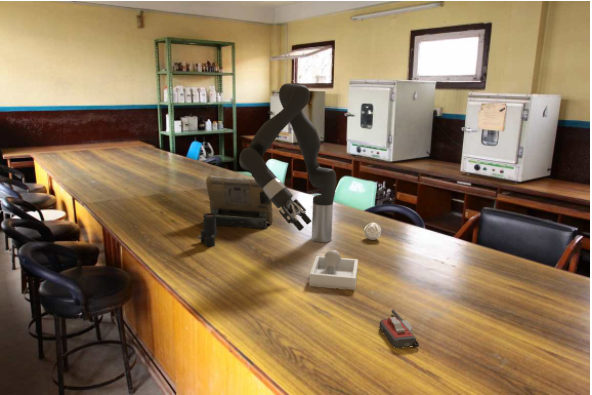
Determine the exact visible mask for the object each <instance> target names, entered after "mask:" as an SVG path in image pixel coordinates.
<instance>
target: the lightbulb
mask: <svg viewBox="0 0 592 395" xmlns="http://www.w3.org/2000/svg"><path fill="white" fill-rule="evenodd" d="M341 258H342V257H341V254H340V253H339V252H338V250H335V249H330V250H327V251H326V252H325V254H324V259H325V262H326V264H327V274H330V275H332V274H333V273H334V270H335V267H336V266H337V265H338V263H339V262H340V260H341Z"/></svg>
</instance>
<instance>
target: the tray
mask: <svg viewBox="0 0 592 395" xmlns="http://www.w3.org/2000/svg"><path fill="white" fill-rule="evenodd" d="M324 257H325V255H323V256H322V255H316V256H315V259H314V262H313V265H312V268H311V270H310V272H309V281H308V282H309V285H308V286H309V287H318V288H328V289H336V288H339V290H346V289H353V290H352V291H356V284H357V276H358V266H359V258H358V259H357V258H348V257H346V258H345V257H341V260H340V262H339V263H338V265H337V266H336V267H335V270H334V273H333V274H332V275H330V274H327V264H326V262H325V259H324Z"/></svg>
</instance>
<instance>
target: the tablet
mask: <svg viewBox="0 0 592 395" xmlns="http://www.w3.org/2000/svg"><path fill="white" fill-rule="evenodd" d="M205 185H206V189H207V195H208V201H209V209H210V210H209V211H210V212H209V213H214V214H216V218H215V219H216V226H224V227H232V228H233V227H234V228H235V227H236V228H246V229H247V228H248V229H268V224H269V225H270V226H272V225H273V223H274V217H273V216H274V213H273V211H274V210H273V203H272V201H271V200H270V199H269V198H268V197H267V195H266V194H265V193H264V191H263V189H261V187H260V186H259V185H258V184H257V182H256V181H255V179H254V178H247V177H231V176H230V177H229V176H218V175H217V176H215V175H212V174H208V176H207V178H206V180H205ZM267 223H268V224H267Z"/></svg>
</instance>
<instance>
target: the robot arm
mask: <svg viewBox="0 0 592 395" xmlns="http://www.w3.org/2000/svg"><path fill="white" fill-rule="evenodd" d="M310 97H311V92H310V90H309V88H308V87H307V86H306V85H303V84H297V83H293V82H292V83H289V82H288V83H284V84H282V85H281V86H280V87H279V91H278V99H279V102H280V105H281V106H282V109H281V110H280V111H279V112H277V113H276V114H275V115H274V116H272V117H270V118H269V119H268V120H266V121H265V122H264V123H263V124H262V126H260V128H259V129H258V131H257V132H256V133H255V134H254V136H253V138H252V140H251V142H250V144H249V146H248V147H245V148H243V149H242V150H241V152H240V154H239V160H238V162H239V165H240V167H241V168H242V169H243V170H245V171H249V173H251V175H252V176H253V179H255V181H256V182H257V184H258V185H259V186H260V187H261V189H263V191H264V193H265V194H266V195H267V197H268V198H269V199H270V200H271V201H272V205H274V206H275V208H277V209H279V210H278V212H279V213H280V215H281V216H282V217H283V219H284V220H285V221H286V222H287V223H288V224H293V225H294V227H295V228H296V229H297V230H298V231H300V232H301V231H302V230H304V229H305V226H304V224H302V223H301V221H300V220H299V219H298V218H297V216H298V217H300V218H301V219H302V221H303V222H304V223H305V224H306V225H309V224H310V223H311V240H312V241H313V242H318V243H328V242H331V241H332V237H333V236H332V234H333V217H334V215H333V213H334V199H335V196H336V185H337V174H336V171H335V170H334V169H332V168H327V167H321V166H320V164H319V162H318V155H319V152H320V151H321V146H322V144H321V139H320V136H319V132H318V131H317V128H316V127H315V125H314V124H313V122H311V120H310V119H309V118H308V116H307V115H306V114H305V113H304V111H303V110H304V109H305V107H306V106H307V105H308V104H309V102H310ZM289 124H290V126H291V128H292V131H293V133H294V136H295V139H296V142H297V144H298V147H299V150H300V152H301V155H302V157H303V160H304V164H305V168H306V170H307V171H306V172H307V174H308V180H309V182H310V184H311V185H312V187H314V188H317V189H322V191H321V193H320V194H316V195H314V196H313V197H312V215H311V218H310V217H309V216H308V215H307V214H306V211H307V209H306V208H305V207H304V206H303V204H302V203H301V202H300V201H299V200H298V199H297V198H295V199H294V200H293V199H292V198H293V193H292V192H291V191H290V190H289V189H288V188H287V186H286V185H285V184H284V183H283V182H282V181H281V180H280V179H279V178H278V177H277V176H276V174H274V172H273V171H272V170H271V169H270V167H269V166H268V165H267V163H266V162H265V160H264V158H263V157H264V155H265V154H266V152H267V151H268V149H269V148H270V147H271V146H272V144H274V141H276V139H277V137H279V135H280V133H281V132H282V131H284V129H285V128H286V127H287V125H289Z"/></svg>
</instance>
